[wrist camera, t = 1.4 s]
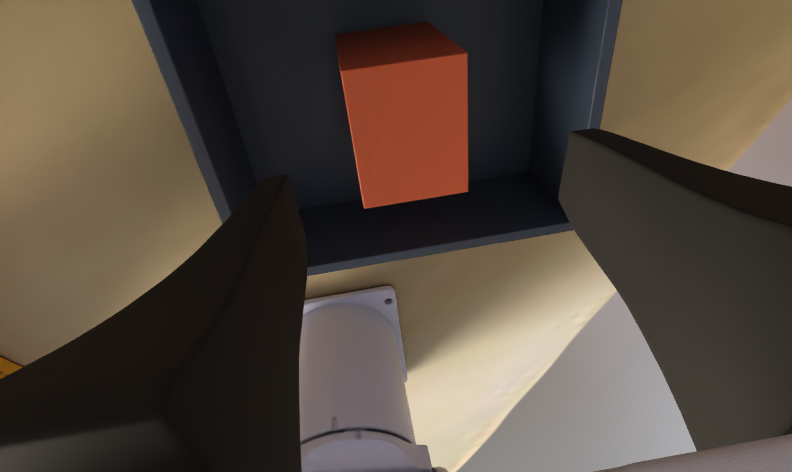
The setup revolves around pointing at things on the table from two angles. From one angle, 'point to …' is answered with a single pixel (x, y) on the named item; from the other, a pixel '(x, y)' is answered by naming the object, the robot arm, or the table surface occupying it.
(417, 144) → the small box
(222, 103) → the storage box
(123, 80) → the table surface
